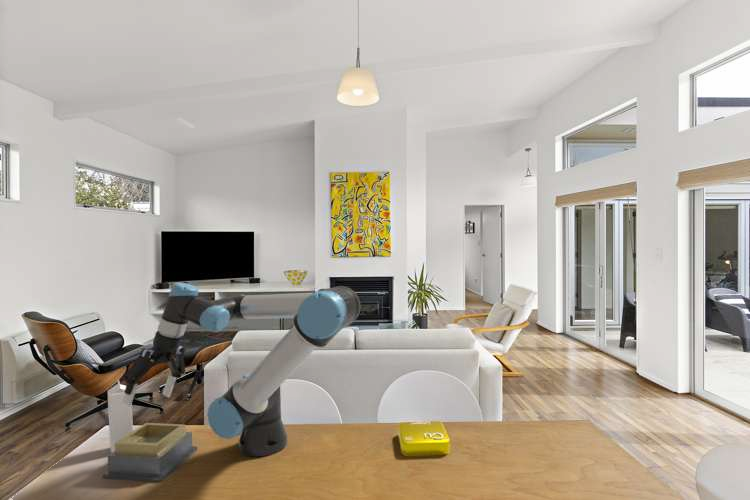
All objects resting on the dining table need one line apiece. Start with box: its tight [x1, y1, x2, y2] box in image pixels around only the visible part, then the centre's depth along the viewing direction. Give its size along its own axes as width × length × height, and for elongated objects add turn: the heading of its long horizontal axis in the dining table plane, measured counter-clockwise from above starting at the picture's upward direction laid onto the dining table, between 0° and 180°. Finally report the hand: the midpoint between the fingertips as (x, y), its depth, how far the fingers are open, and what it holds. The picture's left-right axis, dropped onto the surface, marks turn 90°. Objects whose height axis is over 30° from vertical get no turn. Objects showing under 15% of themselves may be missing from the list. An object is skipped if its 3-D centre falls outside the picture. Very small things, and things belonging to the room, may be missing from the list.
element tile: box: [397, 420, 451, 457], centre depth 136 cm, size 15×15×5 cm
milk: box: [107, 379, 134, 454], centre depth 137 cm, size 6×6×22 cm
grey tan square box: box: [102, 422, 198, 483], centre depth 128 cm, size 18×18×9 cm
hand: (147, 399), depth 129 cm, fingers open, 13 cm apart
